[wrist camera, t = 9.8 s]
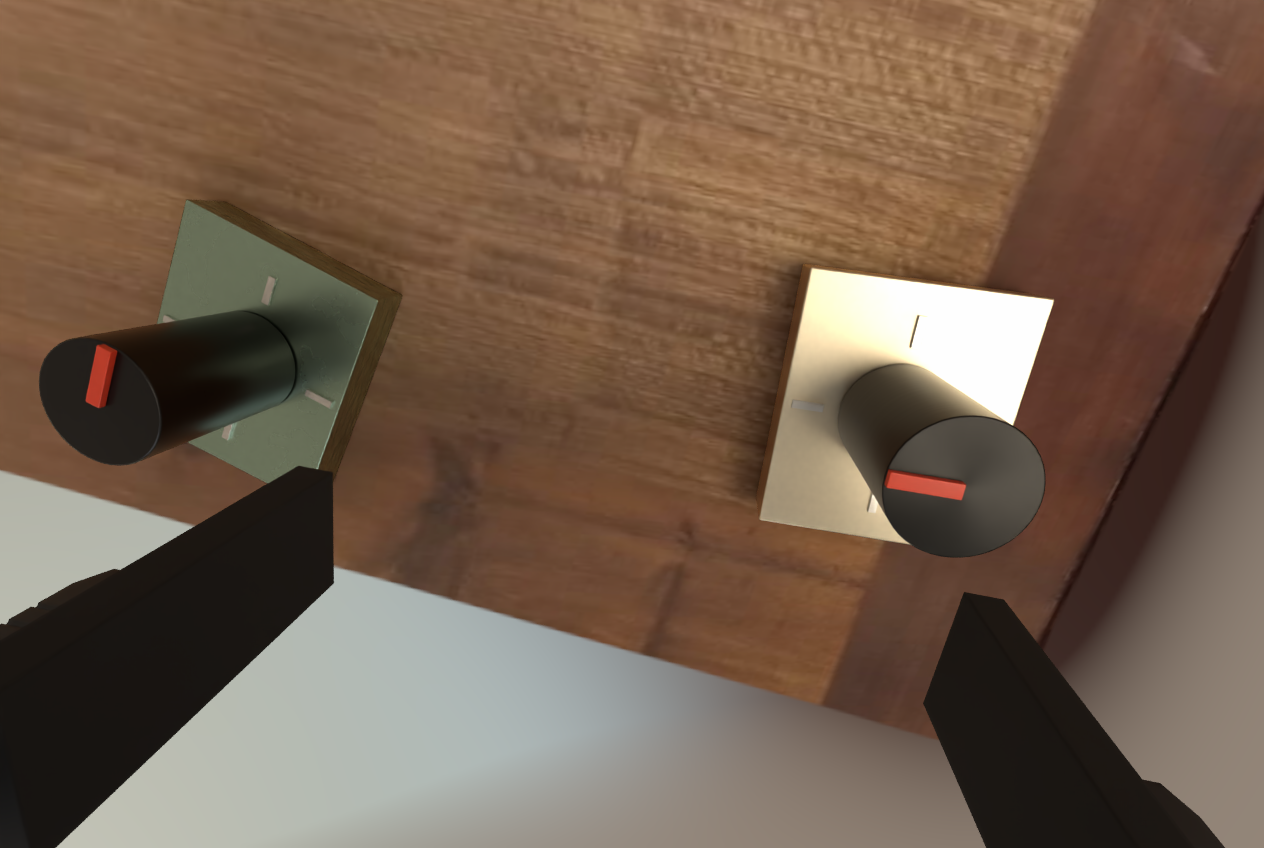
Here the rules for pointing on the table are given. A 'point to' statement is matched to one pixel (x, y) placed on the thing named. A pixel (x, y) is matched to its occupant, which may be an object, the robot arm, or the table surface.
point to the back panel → (283, 332)
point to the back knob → (163, 383)
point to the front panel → (867, 340)
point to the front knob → (940, 462)
